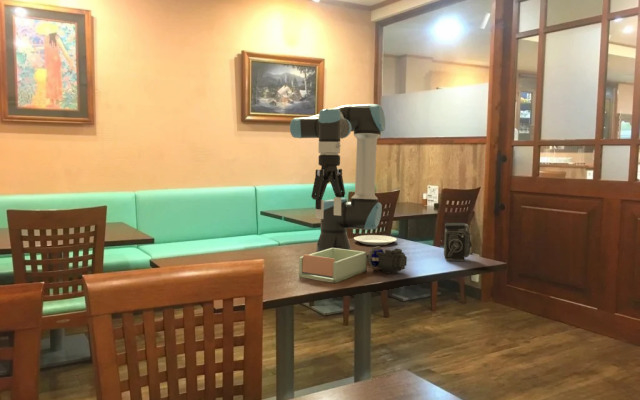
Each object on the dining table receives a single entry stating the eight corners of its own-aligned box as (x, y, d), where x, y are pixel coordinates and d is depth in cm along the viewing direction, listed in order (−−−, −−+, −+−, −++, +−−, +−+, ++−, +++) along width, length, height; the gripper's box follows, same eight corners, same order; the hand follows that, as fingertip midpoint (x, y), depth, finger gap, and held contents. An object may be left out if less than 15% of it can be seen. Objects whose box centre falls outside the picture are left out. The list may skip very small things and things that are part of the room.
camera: (471, 263, 203) (473, 226, 202) (444, 261, 205) (445, 225, 204) (469, 257, 213) (470, 222, 212) (443, 256, 215) (444, 221, 214)
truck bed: (299, 276, 178) (299, 257, 178) (332, 265, 196) (332, 247, 196) (335, 283, 170) (335, 262, 169) (366, 270, 188) (366, 252, 188)
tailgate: (302, 273, 177) (303, 254, 177) (303, 273, 178) (304, 254, 178) (332, 278, 171) (333, 258, 170) (333, 278, 171) (335, 258, 171)
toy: (377, 244, 195) (410, 250, 184) (376, 266, 196) (409, 273, 185) (363, 247, 189) (396, 253, 178) (362, 270, 189) (395, 277, 179)
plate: (387, 248, 233) (387, 243, 233) (346, 244, 244) (346, 239, 243) (402, 241, 251) (403, 237, 251) (364, 238, 262) (364, 233, 261)
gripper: (319, 154, 164) (319, 221, 166) (355, 154, 184) (354, 214, 186) (301, 154, 168) (300, 219, 170) (337, 154, 188) (336, 213, 190)
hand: (328, 216), depth 178 cm, fingers open, 11 cm apart
